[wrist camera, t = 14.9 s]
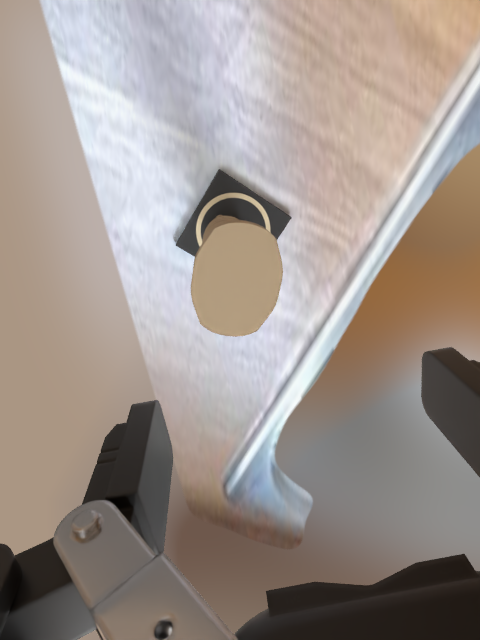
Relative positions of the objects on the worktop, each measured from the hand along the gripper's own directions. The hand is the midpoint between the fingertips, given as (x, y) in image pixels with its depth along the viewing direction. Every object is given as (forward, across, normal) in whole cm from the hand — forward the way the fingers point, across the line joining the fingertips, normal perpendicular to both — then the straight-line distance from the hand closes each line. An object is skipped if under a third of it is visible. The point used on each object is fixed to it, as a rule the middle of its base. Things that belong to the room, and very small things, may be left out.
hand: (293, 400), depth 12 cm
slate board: (+26, 0, 0) cm, 27 cm away
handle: (+26, +1, 0) cm, 26 cm away
